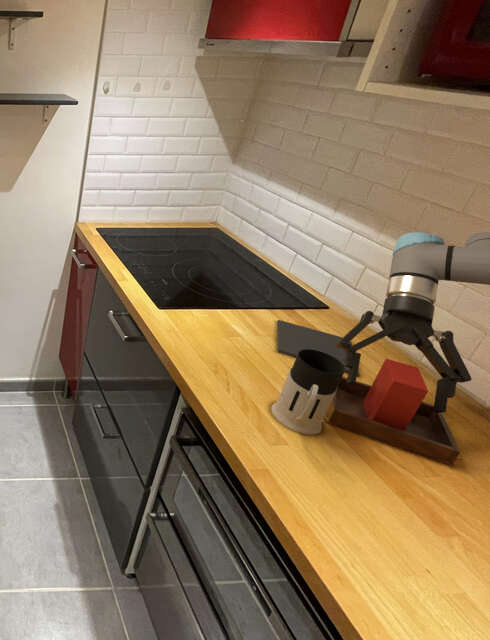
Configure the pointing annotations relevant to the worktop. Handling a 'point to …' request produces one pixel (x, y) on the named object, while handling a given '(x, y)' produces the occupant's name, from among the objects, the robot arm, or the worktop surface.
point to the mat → (307, 341)
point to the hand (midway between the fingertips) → (393, 397)
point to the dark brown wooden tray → (419, 437)
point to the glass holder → (308, 391)
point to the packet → (395, 394)
